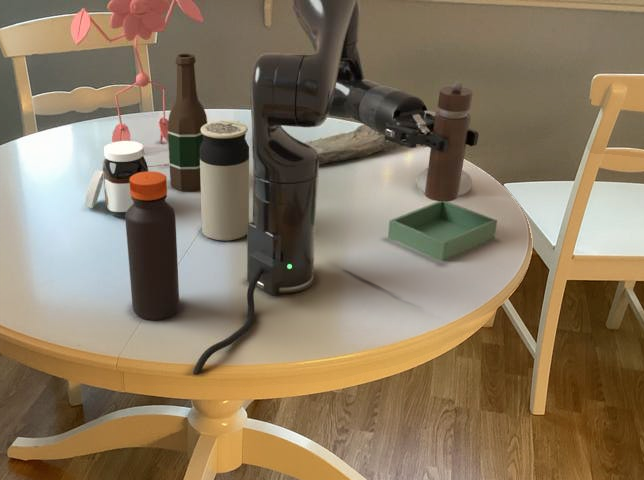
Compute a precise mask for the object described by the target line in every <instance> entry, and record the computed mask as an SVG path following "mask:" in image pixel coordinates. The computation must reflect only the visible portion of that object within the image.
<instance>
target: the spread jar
mask: <svg viewBox="0 0 644 480" xmlns="http://www.w3.org/2000/svg"><path fill="white" fill-rule="evenodd" d="M103 151H104V152H103V153H104V159H103V161H102V170H100V169H95V170H94V173H93V175H92V176H91V180H90V182H89V185H88V188H87V191H86V195H85V201H84V206H85V207H86V208H90V209H93V208H95V206H96V204H97V201H98V199H99V196H100V193H101V190H102V187H103V189H104V198H105V204H106V209H107V211H108V213H109V214H110V215H112V216H114V217H117V218H123V219H125V214H126V212H127V210H128V209H129V208H130V206H131V205H132V204H133V200H132V199H131V194H130V182H129V179H130V177H131V176H132V175H134V174H136V173H140V172H147V171H149V167H147V166H148V163H147V161H146V159H145V157H144V154H145V153H144V152H145V150H144V145H143V144H142V143H140V142H138V141H134V140H133V141H132V140H130V141H118V142H113V143H112V142H111V143H108V144H106V145H105V146H104V147H103Z"/></svg>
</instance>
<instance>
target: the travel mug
mask: <svg viewBox="0 0 644 480" xmlns="http://www.w3.org/2000/svg"><path fill="white" fill-rule="evenodd" d="M248 129H249V128H248V126H247V124H244V123H242V122H239V121H235V120H216V121H211V122H207V124H205V125H203V126H202V127H201V133H202V134H203V139H204V140H203V142H202V144H201V146H200V178H201V190H200V209H201V232H202V234H203V235H204V236H205V237H207V238H210V239H212V240H215V241H225V242H227V241H228V242H229V241H234V240H238V239H240V238H243V237H245V236H246V235H247V226H248V224H249V223H250V145H249V144H248V142H247V140H246V136H247V133H248Z"/></svg>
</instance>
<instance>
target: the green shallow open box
mask: <svg viewBox="0 0 644 480" xmlns="http://www.w3.org/2000/svg"><path fill="white" fill-rule="evenodd" d="M497 225H498V220H497V219H495V218H493V217H490V216H487V215H485V214H481V213H479V212H477V211H474V210H471V209H469V208H466V207H463V206H460V205H458V204H456V203H453V202H451V201H445V202H444V201H435V202H433V203H430V204H428V205H425V206H422V207H421V208H418V209H414V210H413V211H410V212H408V213H405V214H402V215H400V216H398V217H394V218H392V219H390V220H389V224H388V233H387V238H388V239H390V240H393V241H395V242H398V243H400V244H402V245H403V246H406V247H409V248H411V249H413V250H415V251H418V252H420V253H422V254H424V255H426V256H429V257H432V258H434V259H436V260H437V261H440V262H443V261H445V260H447V259H449V258H452V257H455V256H456V255H458V254H461V253H463V252H465V251H467V250H469V249H472V248H474V247H476V246H479V245H481V244H483V243H486V242H487V241H490V240H492V239H494V238H495V237H496V230H497Z"/></svg>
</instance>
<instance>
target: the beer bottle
mask: <svg viewBox="0 0 644 480" xmlns="http://www.w3.org/2000/svg"><path fill="white" fill-rule="evenodd" d="M175 57H176V58H175V62H174V63H175V64H176V97H175V101H174V103H173V105H172V106H171V108H170V111H169V115H168V119H167V120H168V142H167V143H168V159H169V160H168V161H169V162H168V164H169V179H170V186H171V188H172V189H175V190H177V191H179V192H199V191H201V178H200V146H201V144H202V142H203V140H204V139H203V134H202V133H201V127H202V126H203V125H205V124H207V123H208V117H207V116H208V115H207V113H206V111H205V108H204V106H203V104H202V103H201V102H200V101H199V97H198V93H197V83H196V70H195V64H196V61H197V59H196V57H195V55H194V54H191V53H180V54H178V55H177V54H176V56H175Z"/></svg>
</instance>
